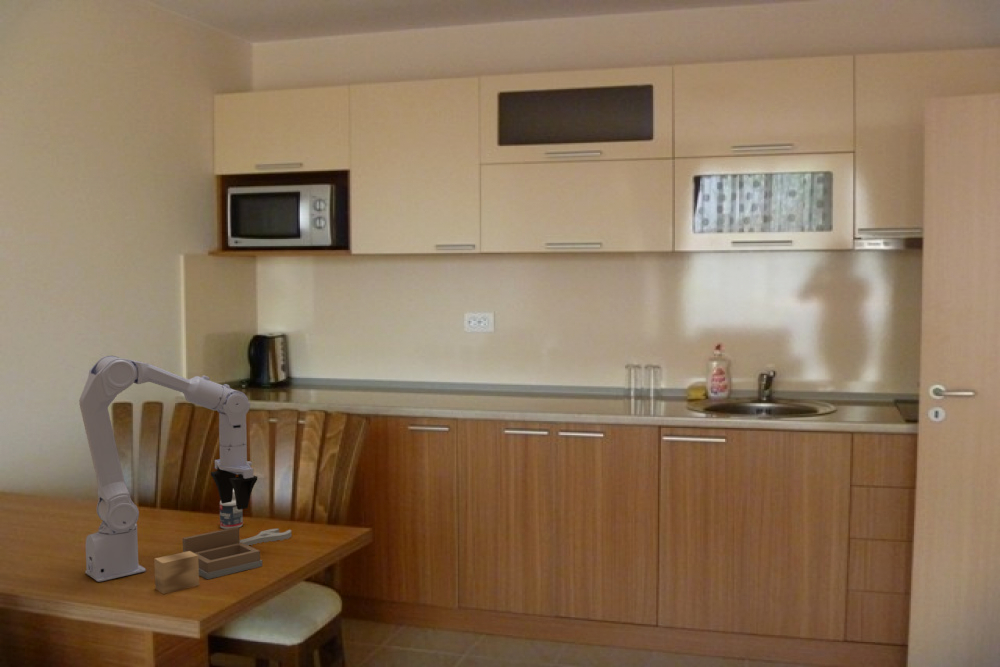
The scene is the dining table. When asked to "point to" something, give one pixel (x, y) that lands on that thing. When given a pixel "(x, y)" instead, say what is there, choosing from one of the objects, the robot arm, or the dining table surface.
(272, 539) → the adjustable wrench
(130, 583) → the dining table surface
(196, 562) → the light wooden block
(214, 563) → the stand
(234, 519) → the pill bottle
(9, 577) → the dining table surface
